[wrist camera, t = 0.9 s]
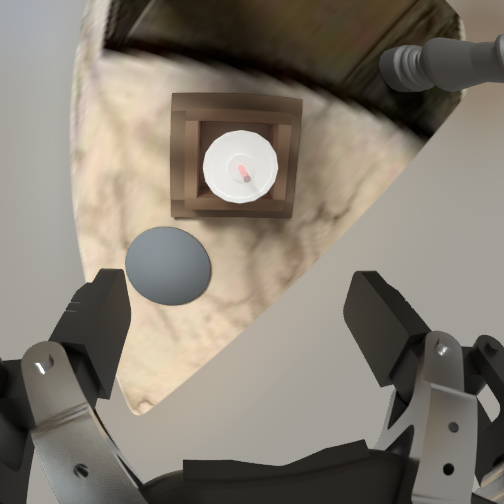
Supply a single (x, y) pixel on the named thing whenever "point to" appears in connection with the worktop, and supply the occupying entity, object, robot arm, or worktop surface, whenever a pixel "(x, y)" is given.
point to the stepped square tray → (231, 110)
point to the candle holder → (443, 65)
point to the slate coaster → (167, 266)
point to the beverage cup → (240, 166)
